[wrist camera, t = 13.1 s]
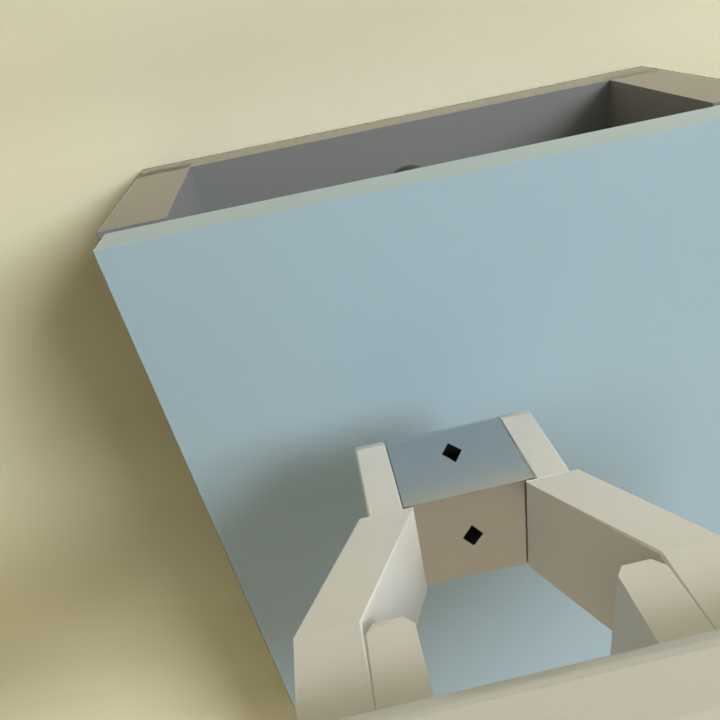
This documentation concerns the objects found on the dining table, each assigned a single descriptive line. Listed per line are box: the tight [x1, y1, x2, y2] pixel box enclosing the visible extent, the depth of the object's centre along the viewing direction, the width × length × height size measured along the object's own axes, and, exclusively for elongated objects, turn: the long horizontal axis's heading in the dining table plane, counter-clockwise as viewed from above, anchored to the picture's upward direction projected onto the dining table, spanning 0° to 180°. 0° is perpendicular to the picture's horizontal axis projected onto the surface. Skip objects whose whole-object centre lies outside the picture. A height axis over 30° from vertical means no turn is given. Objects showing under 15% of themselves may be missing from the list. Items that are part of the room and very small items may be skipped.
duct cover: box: [93, 105, 720, 710], centre depth 16 cm, size 24×13×1 cm, turn 10°
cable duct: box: [96, 66, 720, 241], centre depth 18 cm, size 24×12×4 cm, turn 10°
